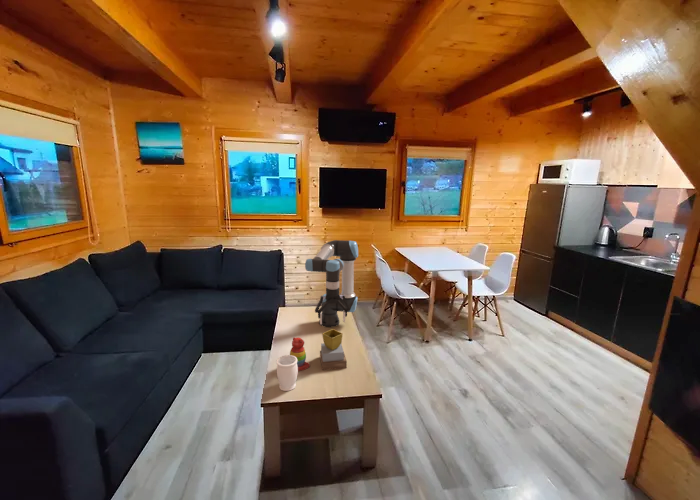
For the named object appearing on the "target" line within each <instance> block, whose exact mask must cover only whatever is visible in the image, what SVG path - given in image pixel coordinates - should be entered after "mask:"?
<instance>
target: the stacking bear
mask: <svg viewBox="0 0 700 500" xmlns="http://www.w3.org/2000/svg"><path fill="white" fill-rule="evenodd" d="M304 345H305V340H304V339H302V337H293V338H292V341H291V346H292V347H291V349H290V352H289V355H292V356H295V357H296V358H297V360H298V361H297V366H298V372H300V371H304V370H306V369H309V368H310V366H311V365H310V363H309V362H307V360H306V359H307V352H306V349H305V347H304Z"/></svg>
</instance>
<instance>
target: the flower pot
mask: <svg viewBox="0 0 700 500" xmlns="http://www.w3.org/2000/svg"><path fill="white" fill-rule="evenodd" d="M321 336H322V340H323V343H324V344H325V346H326V347H327V348H329V349H331V350H334V349H336V348H338V347H339V346H340V344H342V340H343V332H340V331H338V330H336V329H333V328H331V329H329V330H326V331H325V332H323V333H322V335H321Z"/></svg>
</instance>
